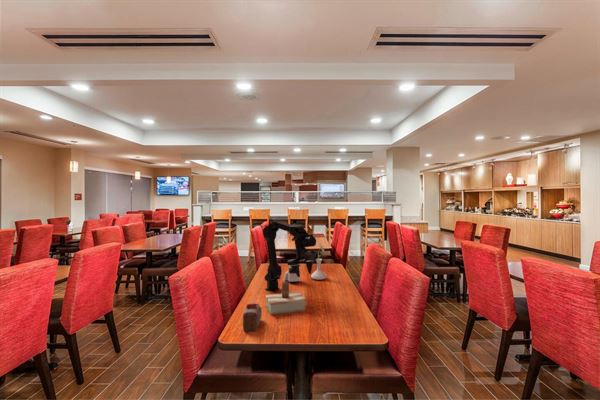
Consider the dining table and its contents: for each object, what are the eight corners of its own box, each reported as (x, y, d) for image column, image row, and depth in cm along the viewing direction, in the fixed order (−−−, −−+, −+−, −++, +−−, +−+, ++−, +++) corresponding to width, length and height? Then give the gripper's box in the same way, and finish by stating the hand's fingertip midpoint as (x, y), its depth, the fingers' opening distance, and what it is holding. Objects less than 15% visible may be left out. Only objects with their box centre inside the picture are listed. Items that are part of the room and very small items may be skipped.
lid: (265, 297, 164) (265, 280, 164) (299, 293, 170) (298, 277, 170) (270, 305, 152) (270, 287, 152) (306, 301, 158) (306, 284, 158)
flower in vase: (326, 281, 211) (325, 245, 211) (309, 280, 214) (309, 244, 213) (328, 276, 224) (328, 242, 224) (312, 275, 227) (312, 241, 226)
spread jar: (299, 284, 205) (299, 266, 205) (282, 284, 205) (282, 266, 205) (299, 279, 217) (299, 262, 217) (283, 279, 217) (283, 262, 217)
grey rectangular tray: (266, 306, 164) (266, 297, 164) (298, 303, 169) (298, 294, 169) (270, 315, 153) (270, 305, 153) (305, 310, 158) (305, 301, 158)
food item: (245, 319, 148) (245, 299, 148) (262, 319, 148) (261, 298, 148) (241, 332, 134) (241, 309, 134) (260, 331, 135) (260, 309, 135)
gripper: (299, 248, 164) (303, 278, 162) (321, 244, 177) (325, 272, 176) (285, 250, 172) (289, 278, 170) (307, 246, 185) (311, 272, 183)
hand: (304, 275), depth 174 cm, fingers open, 9 cm apart
